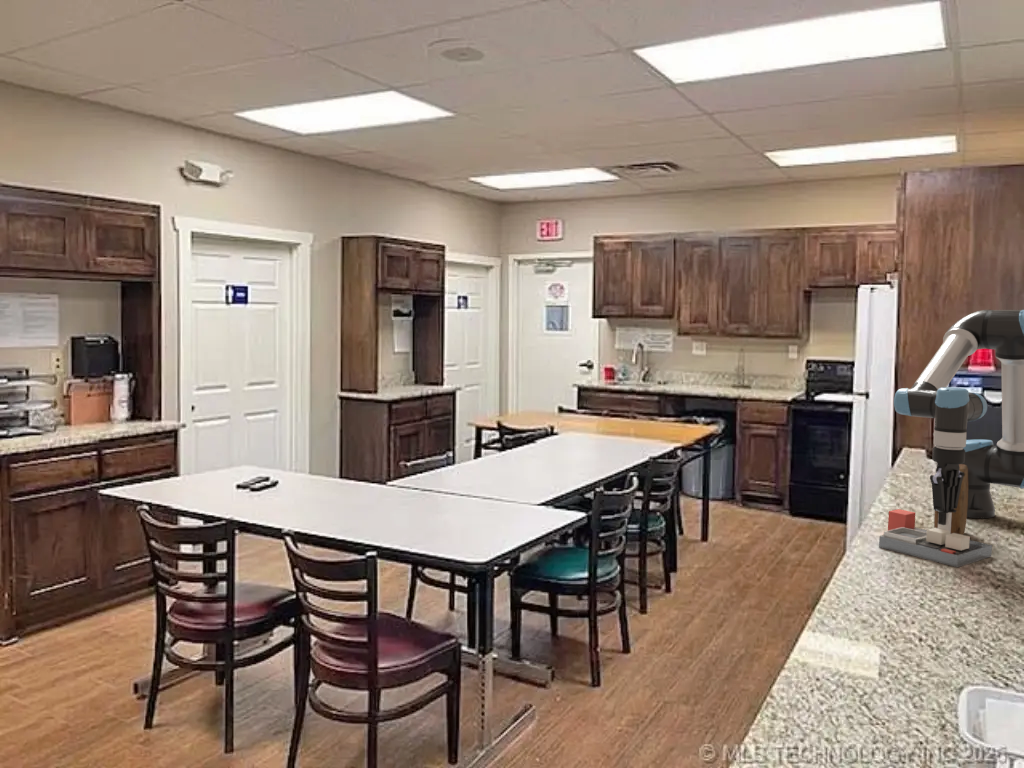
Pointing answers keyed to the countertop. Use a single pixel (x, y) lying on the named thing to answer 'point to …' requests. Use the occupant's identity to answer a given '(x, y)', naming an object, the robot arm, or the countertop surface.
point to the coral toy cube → (901, 519)
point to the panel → (932, 547)
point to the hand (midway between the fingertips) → (943, 536)
